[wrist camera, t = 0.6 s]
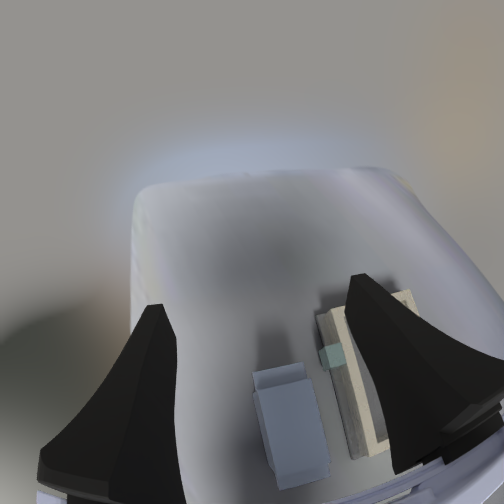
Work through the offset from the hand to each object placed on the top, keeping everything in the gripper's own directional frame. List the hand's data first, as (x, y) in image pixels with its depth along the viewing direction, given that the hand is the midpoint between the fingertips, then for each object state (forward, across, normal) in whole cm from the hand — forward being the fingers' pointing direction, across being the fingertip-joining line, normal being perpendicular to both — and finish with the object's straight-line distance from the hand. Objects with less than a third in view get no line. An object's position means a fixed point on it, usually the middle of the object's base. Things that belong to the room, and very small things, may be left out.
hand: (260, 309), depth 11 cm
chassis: (+4, -12, +17) cm, 21 cm away
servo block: (+2, -1, +17) cm, 18 cm away
